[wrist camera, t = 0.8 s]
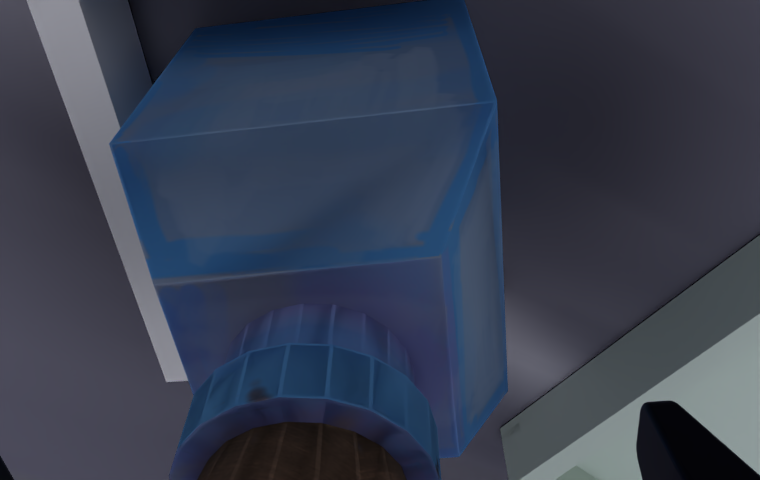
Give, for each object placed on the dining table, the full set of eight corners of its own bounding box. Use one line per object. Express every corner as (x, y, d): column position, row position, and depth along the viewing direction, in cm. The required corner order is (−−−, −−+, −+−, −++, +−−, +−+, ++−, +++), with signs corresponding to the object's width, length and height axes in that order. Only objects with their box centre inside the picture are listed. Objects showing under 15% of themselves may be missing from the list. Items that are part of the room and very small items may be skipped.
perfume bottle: (253, 248, 20) (117, 726, 10) (195, 27, 17) (-94, 414, 7) (476, 227, 20) (567, 705, 10) (462, -5, 16) (580, 357, 6)
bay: (492, 298, 21) (503, 357, 19) (188, 322, 22) (166, 381, 19) (479, -122, 15) (494, -104, 13) (60, -73, 16) (8, -48, 13)
